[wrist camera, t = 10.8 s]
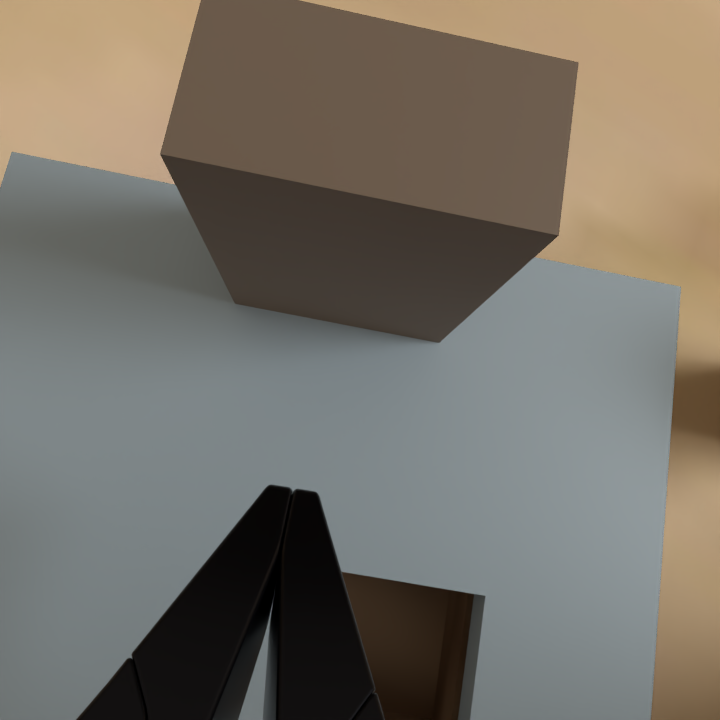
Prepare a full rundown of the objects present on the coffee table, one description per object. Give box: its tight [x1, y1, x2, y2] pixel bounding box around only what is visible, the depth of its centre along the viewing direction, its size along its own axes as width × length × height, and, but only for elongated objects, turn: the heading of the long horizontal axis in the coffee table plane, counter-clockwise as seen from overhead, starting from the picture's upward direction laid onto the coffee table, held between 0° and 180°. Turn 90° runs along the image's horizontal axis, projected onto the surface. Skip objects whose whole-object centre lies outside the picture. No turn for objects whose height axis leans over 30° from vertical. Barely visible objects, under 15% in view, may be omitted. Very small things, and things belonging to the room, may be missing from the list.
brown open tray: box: [342, 572, 474, 720], centre depth 18 cm, size 16×20×4 cm
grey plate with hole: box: [0, 0, 681, 720], centre depth 12 cm, size 16×20×9 cm
